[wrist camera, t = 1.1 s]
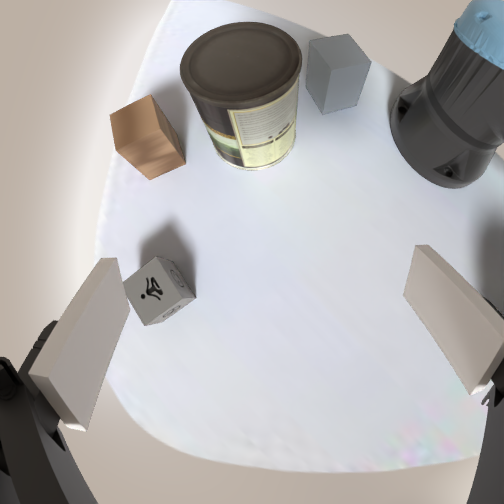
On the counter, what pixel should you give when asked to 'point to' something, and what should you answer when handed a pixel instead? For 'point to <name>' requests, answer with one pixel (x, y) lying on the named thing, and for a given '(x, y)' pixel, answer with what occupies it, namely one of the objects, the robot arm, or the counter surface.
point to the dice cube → (157, 291)
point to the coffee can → (245, 91)
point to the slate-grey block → (336, 72)
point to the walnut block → (146, 138)
